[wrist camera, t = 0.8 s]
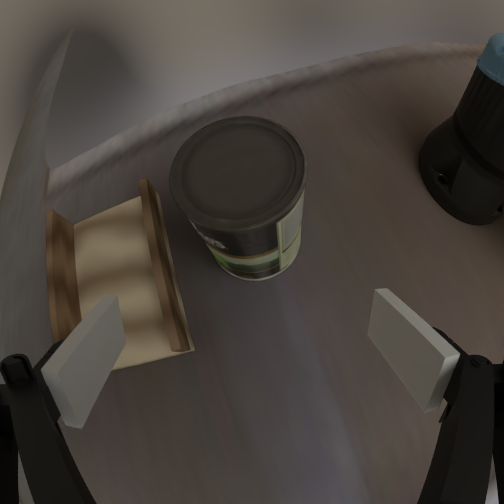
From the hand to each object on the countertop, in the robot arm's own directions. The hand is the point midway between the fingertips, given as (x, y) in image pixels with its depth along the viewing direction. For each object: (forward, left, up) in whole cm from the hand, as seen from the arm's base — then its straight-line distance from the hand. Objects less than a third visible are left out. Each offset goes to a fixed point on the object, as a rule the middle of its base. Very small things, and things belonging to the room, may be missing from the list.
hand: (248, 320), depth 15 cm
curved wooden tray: (+19, +1, -17) cm, 25 cm away
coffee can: (+6, -10, -18) cm, 21 cm away
